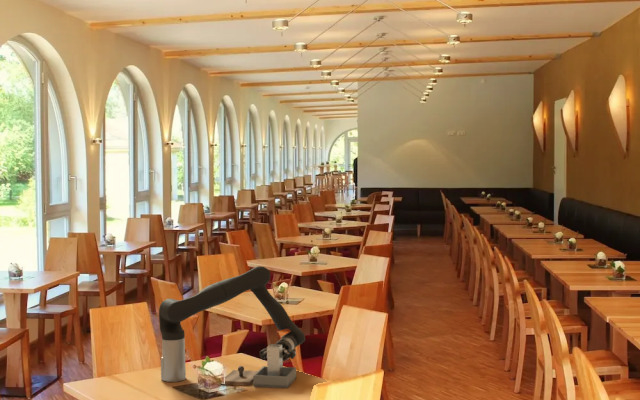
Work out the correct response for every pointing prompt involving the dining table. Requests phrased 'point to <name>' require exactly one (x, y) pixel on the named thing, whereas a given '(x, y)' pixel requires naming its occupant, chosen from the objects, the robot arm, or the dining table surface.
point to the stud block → (240, 377)
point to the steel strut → (274, 360)
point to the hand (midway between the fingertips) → (273, 358)
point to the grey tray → (274, 378)
